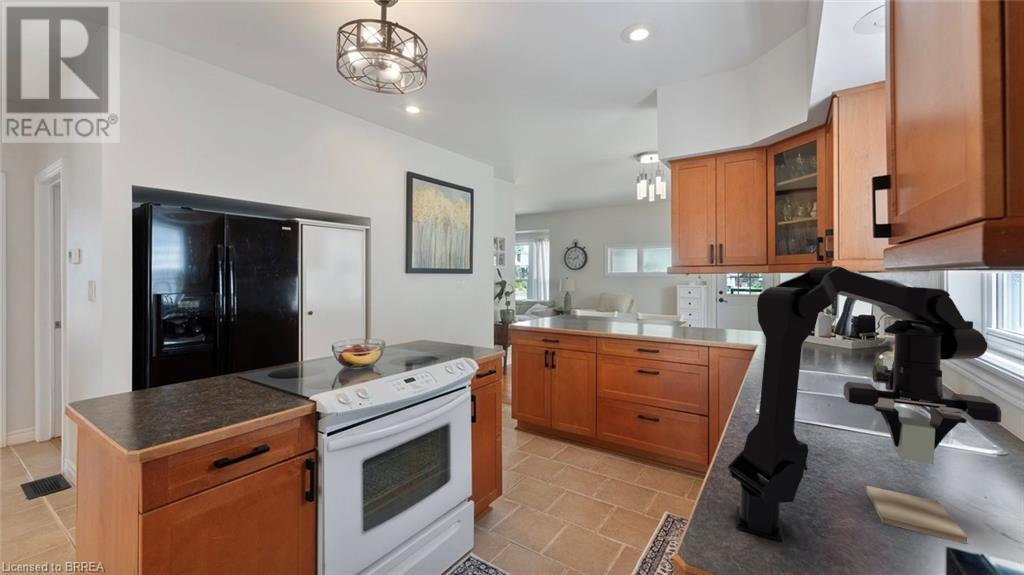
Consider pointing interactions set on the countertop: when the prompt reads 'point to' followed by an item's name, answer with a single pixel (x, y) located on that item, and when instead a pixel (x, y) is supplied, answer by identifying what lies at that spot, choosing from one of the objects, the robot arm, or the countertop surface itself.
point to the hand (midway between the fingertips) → (912, 448)
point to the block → (915, 440)
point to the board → (915, 514)
